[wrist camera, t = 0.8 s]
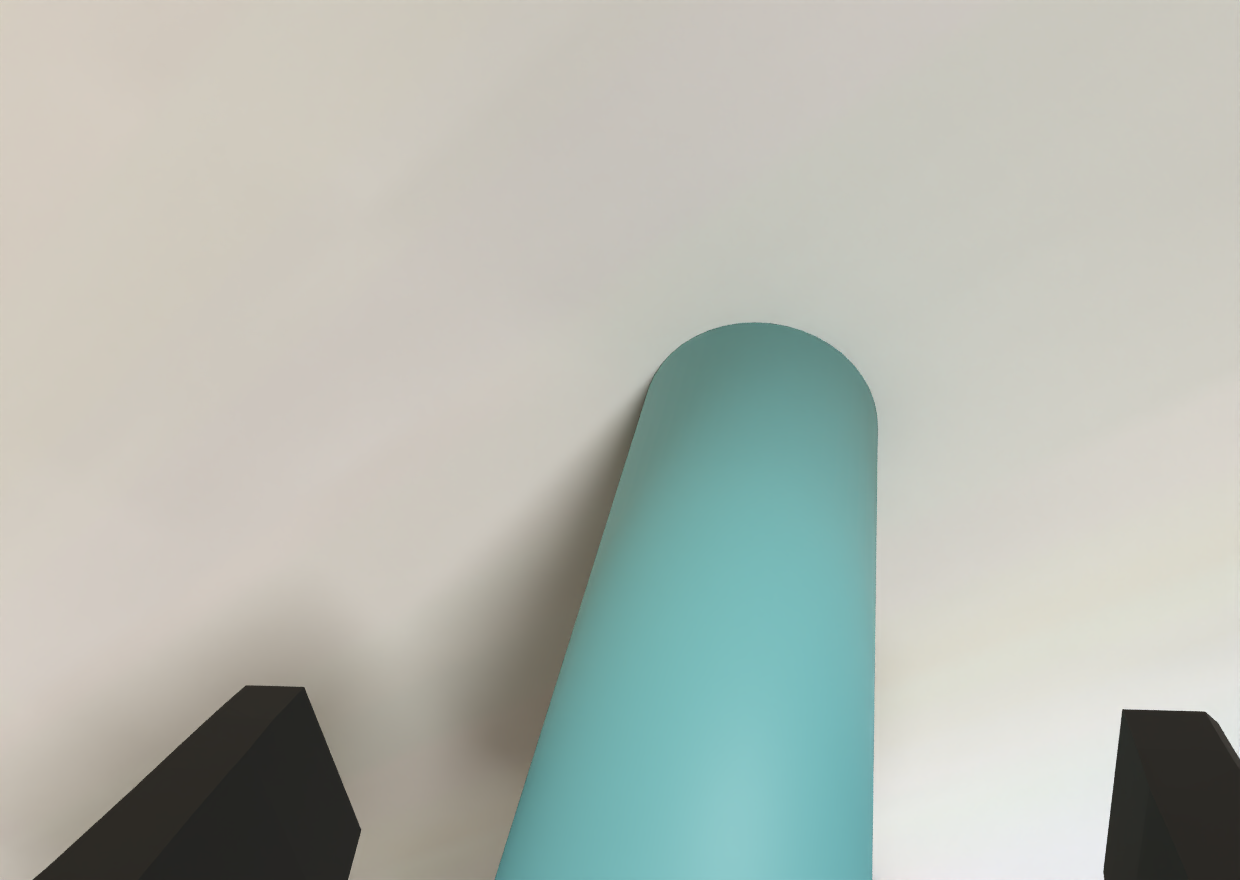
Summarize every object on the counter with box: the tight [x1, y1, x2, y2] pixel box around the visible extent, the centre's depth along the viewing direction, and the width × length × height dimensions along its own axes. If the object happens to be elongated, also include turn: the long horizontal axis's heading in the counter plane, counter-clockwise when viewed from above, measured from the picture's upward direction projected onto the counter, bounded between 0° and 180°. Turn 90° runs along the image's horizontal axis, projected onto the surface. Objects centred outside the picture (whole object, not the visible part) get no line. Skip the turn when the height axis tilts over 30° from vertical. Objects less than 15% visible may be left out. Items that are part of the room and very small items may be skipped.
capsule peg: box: [495, 323, 878, 880], centre depth 12 cm, size 3×3×8 cm
